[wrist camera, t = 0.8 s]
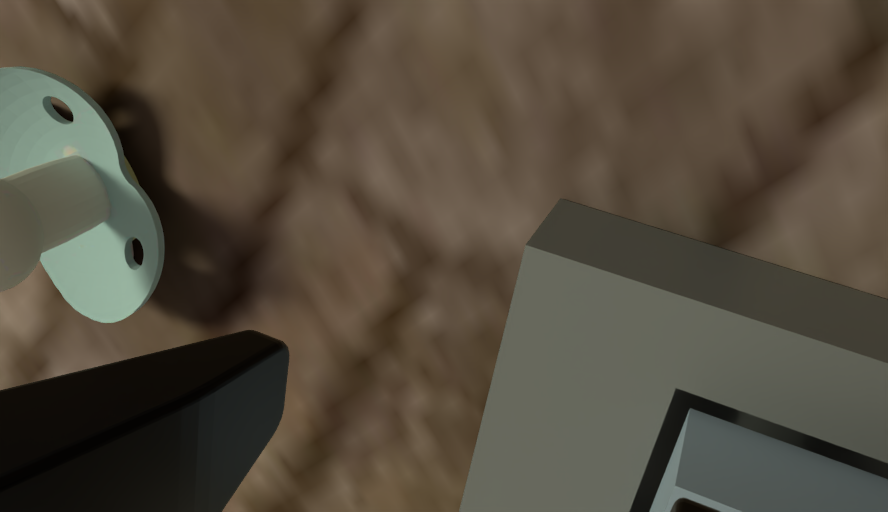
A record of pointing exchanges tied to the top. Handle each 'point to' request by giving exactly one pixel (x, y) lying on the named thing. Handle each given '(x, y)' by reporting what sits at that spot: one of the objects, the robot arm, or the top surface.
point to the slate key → (760, 474)
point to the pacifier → (72, 200)
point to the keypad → (665, 365)
